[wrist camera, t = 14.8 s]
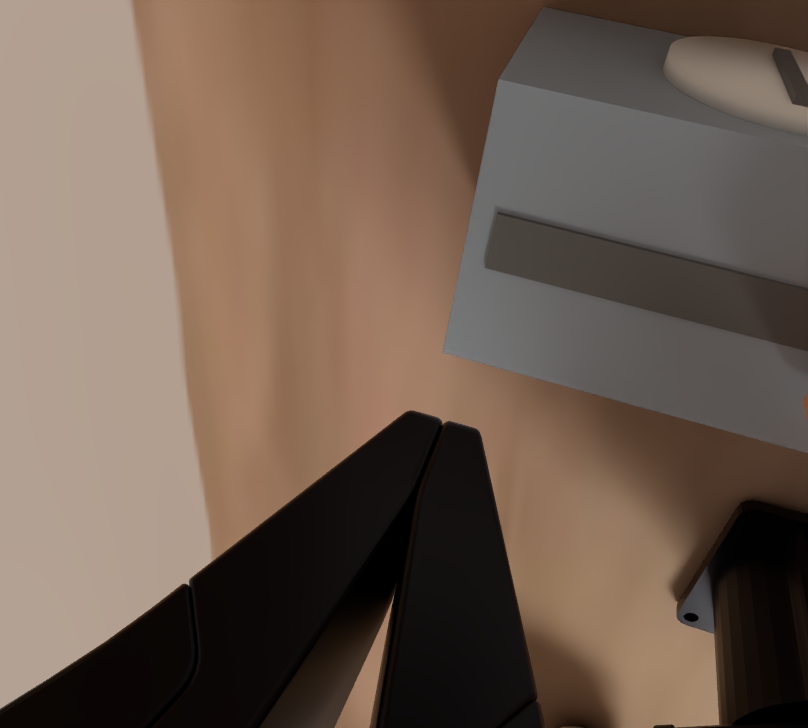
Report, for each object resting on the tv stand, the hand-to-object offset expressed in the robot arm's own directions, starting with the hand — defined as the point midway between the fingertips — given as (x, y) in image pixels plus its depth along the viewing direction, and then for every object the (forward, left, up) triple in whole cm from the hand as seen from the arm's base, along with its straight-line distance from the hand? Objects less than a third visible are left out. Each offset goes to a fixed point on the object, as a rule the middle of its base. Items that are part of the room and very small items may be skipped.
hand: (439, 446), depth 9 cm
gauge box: (-1, -4, -13) cm, 14 cm away
